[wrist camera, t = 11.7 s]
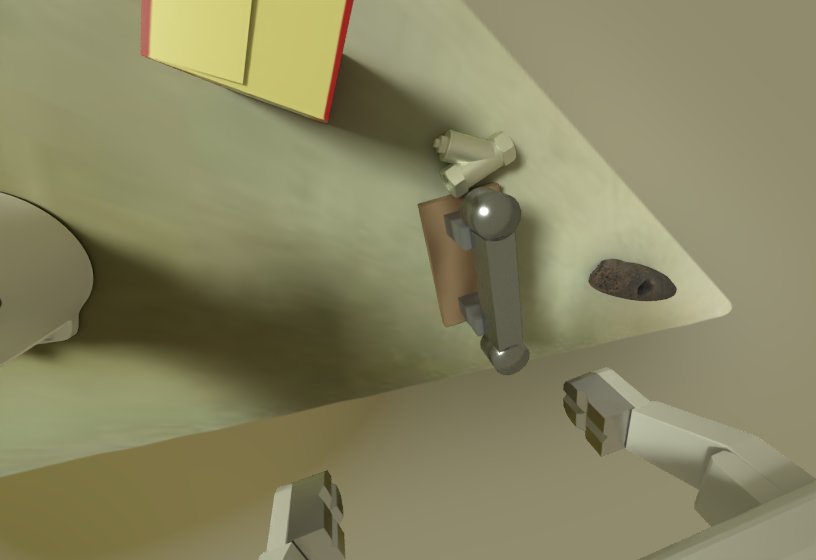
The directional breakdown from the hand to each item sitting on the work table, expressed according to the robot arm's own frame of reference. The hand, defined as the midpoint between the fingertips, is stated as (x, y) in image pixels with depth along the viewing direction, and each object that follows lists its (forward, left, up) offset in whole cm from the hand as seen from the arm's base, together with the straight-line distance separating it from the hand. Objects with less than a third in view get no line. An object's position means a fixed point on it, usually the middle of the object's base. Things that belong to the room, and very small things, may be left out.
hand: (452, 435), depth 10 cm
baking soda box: (-3, +15, -31) cm, 35 cm away
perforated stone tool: (+37, -21, -31) cm, 53 cm away
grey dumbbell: (+12, -10, -24) cm, 28 cm away
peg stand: (+12, -10, -31) cm, 35 cm away
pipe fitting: (+14, +4, -32) cm, 35 cm away
